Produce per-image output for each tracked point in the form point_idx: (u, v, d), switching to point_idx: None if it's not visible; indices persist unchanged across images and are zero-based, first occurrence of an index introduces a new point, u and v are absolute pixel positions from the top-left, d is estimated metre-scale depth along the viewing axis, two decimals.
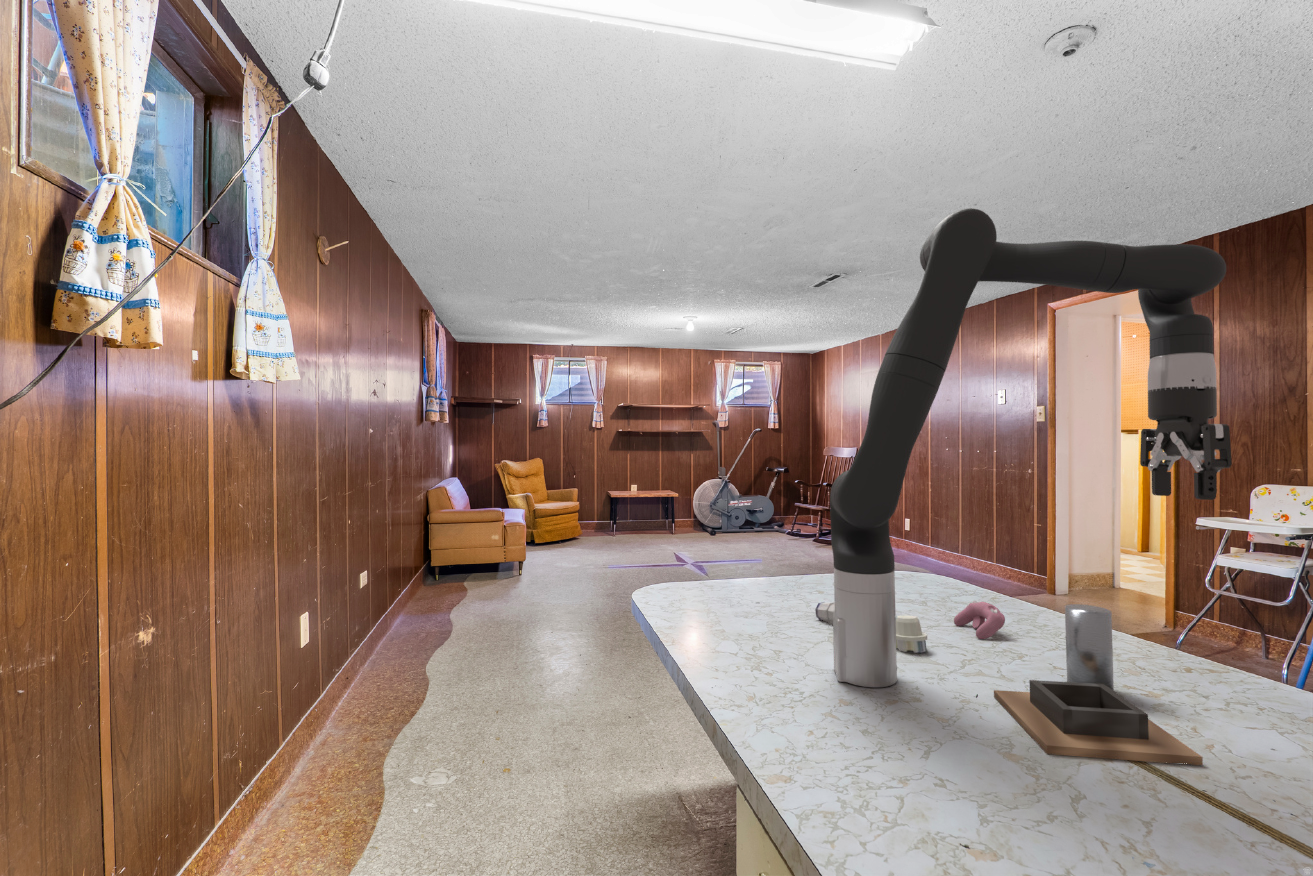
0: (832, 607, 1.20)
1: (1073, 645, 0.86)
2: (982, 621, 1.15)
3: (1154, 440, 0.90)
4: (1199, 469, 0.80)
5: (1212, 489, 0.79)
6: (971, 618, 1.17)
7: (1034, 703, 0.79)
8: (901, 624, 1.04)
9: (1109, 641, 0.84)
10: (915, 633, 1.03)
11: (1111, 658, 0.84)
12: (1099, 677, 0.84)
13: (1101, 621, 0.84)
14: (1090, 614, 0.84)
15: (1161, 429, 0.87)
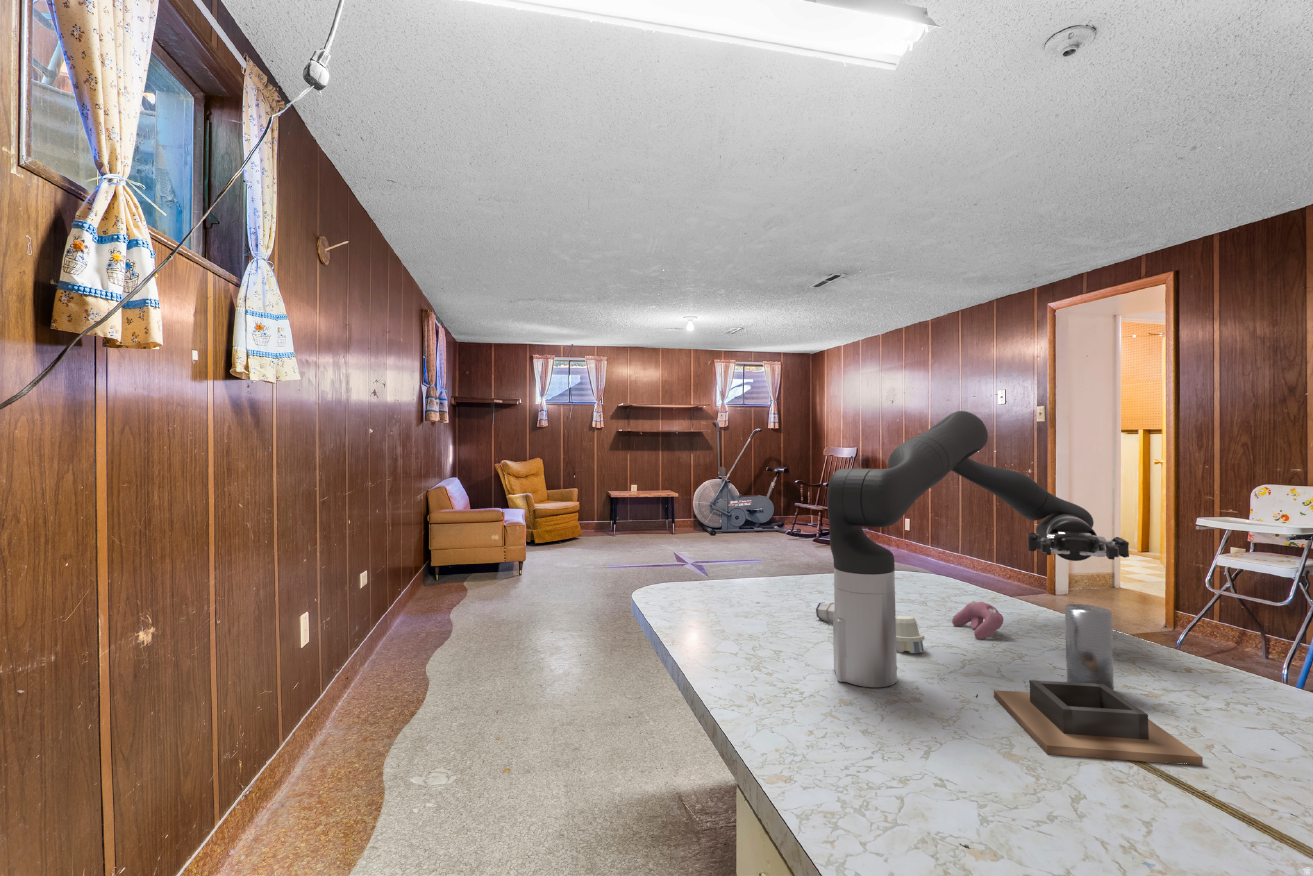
0: (832, 607, 1.20)
1: (1073, 645, 0.86)
2: (980, 621, 1.14)
3: None
4: (1113, 542, 0.97)
5: None
6: (969, 618, 1.17)
7: (1034, 703, 0.79)
8: (897, 624, 1.04)
9: (1109, 641, 0.84)
10: (912, 633, 1.02)
11: (1111, 658, 0.84)
12: (1099, 677, 0.84)
13: (1101, 621, 0.84)
14: (1090, 614, 0.84)
15: None
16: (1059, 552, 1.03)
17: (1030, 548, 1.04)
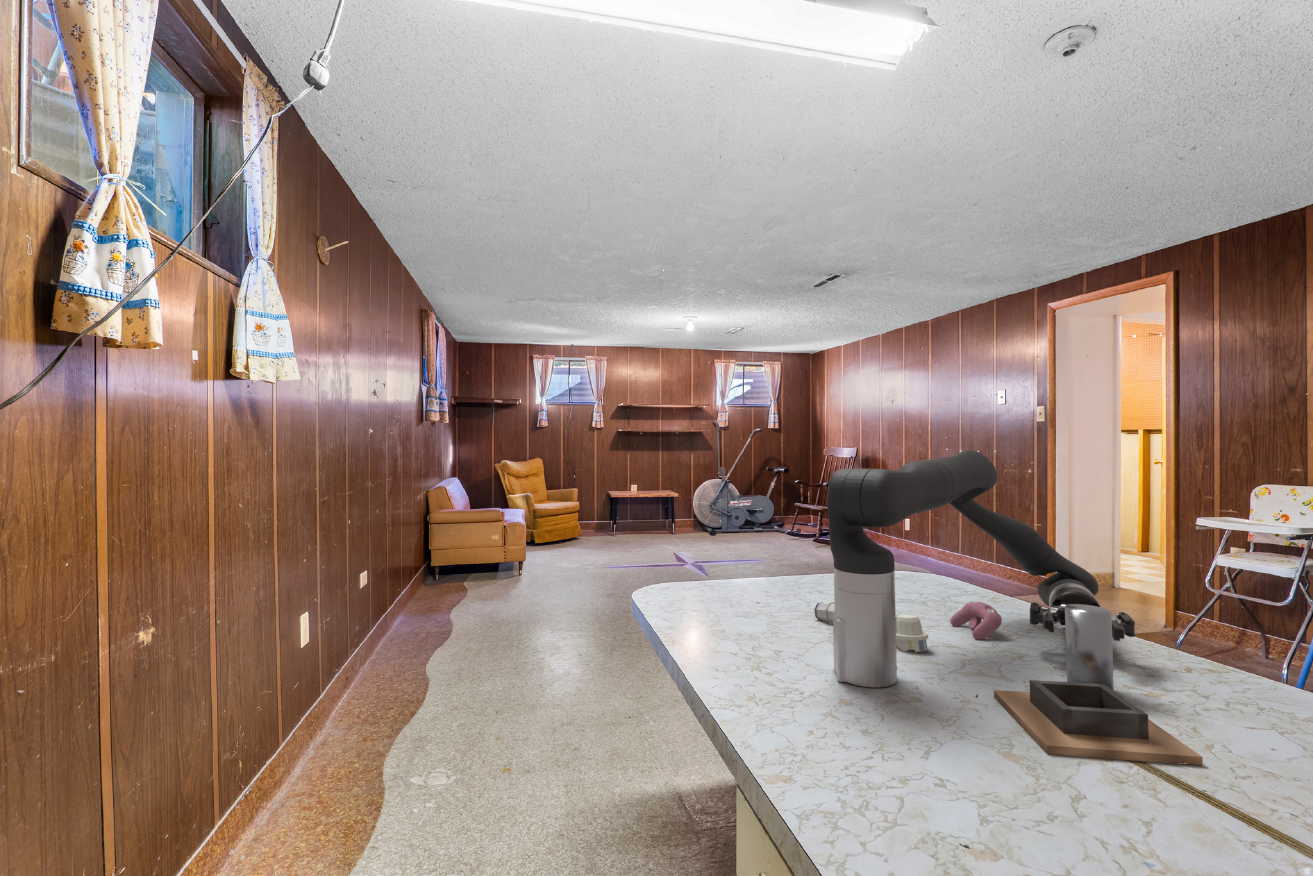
0: (831, 607, 1.20)
1: (1073, 645, 0.86)
2: (979, 621, 1.14)
3: (1043, 610, 1.02)
4: (1118, 620, 0.93)
5: None
6: (967, 618, 1.17)
7: (1034, 703, 0.79)
8: (902, 623, 1.04)
9: (1109, 641, 0.84)
10: (916, 632, 1.03)
11: (1111, 658, 0.84)
12: (1099, 677, 0.84)
13: (1101, 621, 0.84)
14: (1090, 614, 0.84)
15: None
16: (1062, 627, 0.99)
17: (1032, 621, 1.00)
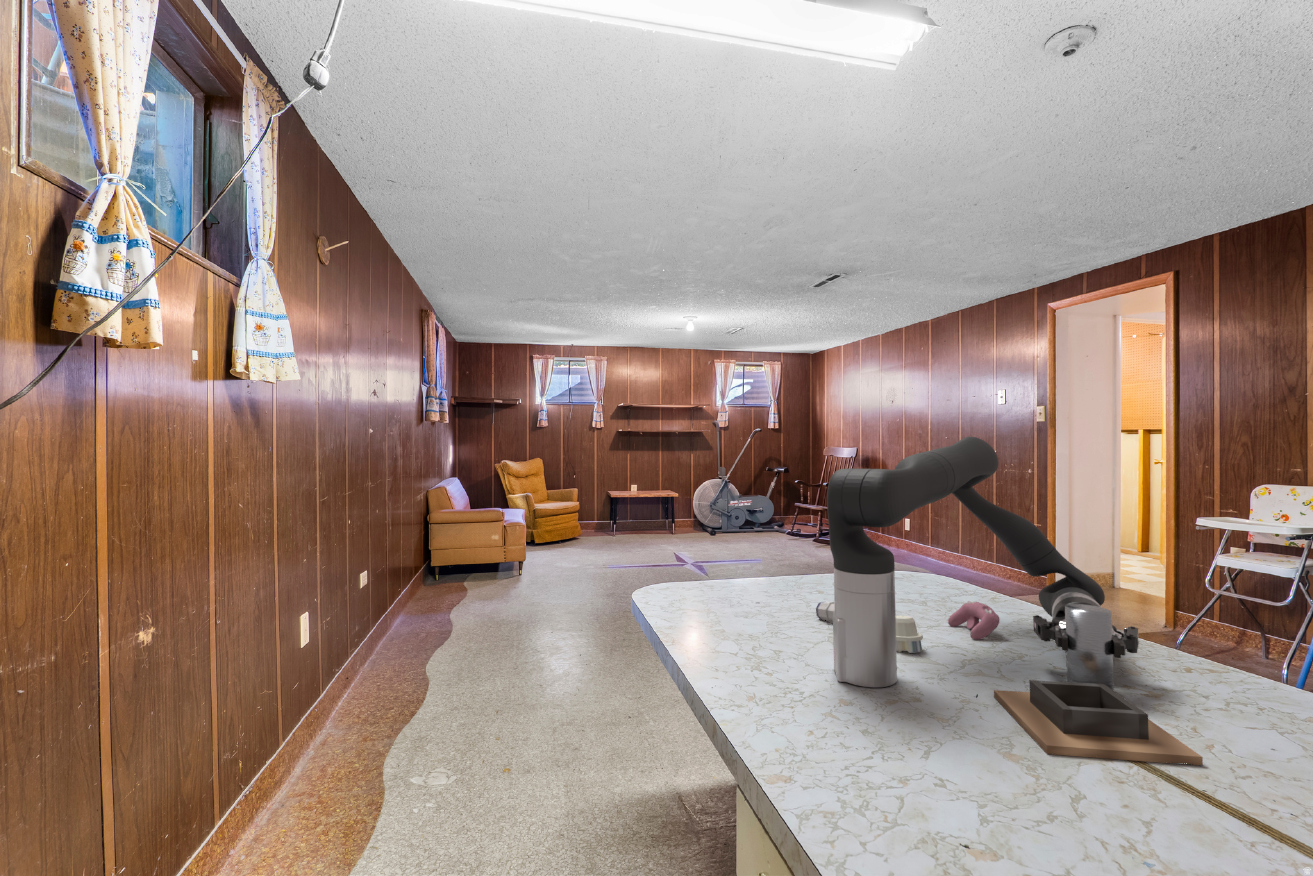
0: (832, 606, 1.20)
1: (1073, 645, 0.86)
2: (976, 621, 1.14)
3: (1048, 624, 0.94)
4: (1119, 635, 0.86)
5: None
6: (965, 618, 1.17)
7: (1034, 703, 0.79)
8: (896, 624, 1.04)
9: (1109, 641, 0.84)
10: (910, 633, 1.03)
11: (1111, 658, 0.84)
12: (1099, 677, 0.84)
13: (1101, 621, 0.84)
14: (1090, 614, 0.84)
15: (1063, 618, 0.95)
16: None
17: (1043, 637, 0.91)
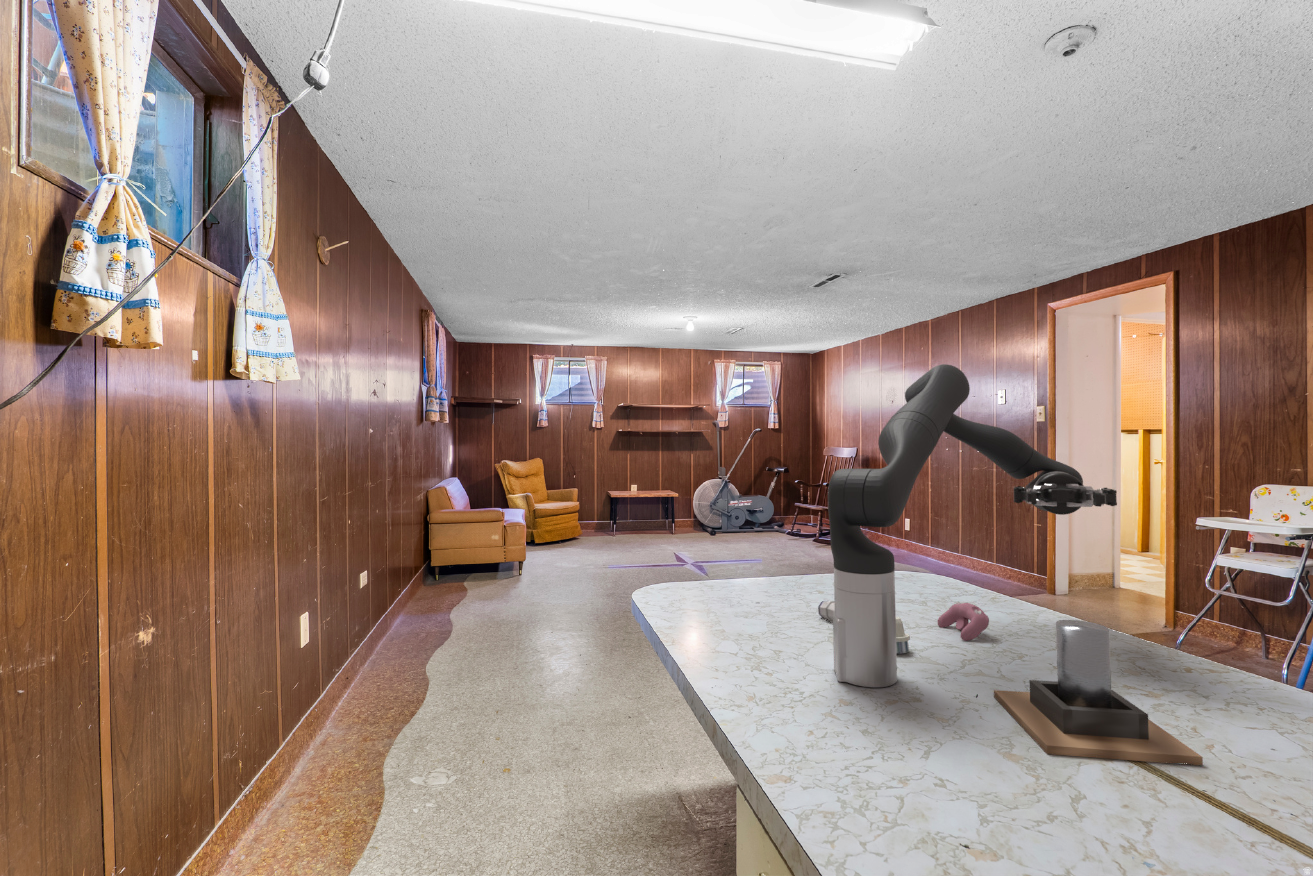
0: (831, 605, 1.21)
1: (1065, 667, 0.74)
2: (966, 622, 1.14)
3: None
4: (1100, 490, 0.94)
5: None
6: (954, 619, 1.16)
7: (1034, 703, 0.79)
8: None
9: (1107, 664, 0.72)
10: (896, 633, 1.02)
11: (1109, 683, 0.73)
12: (1094, 705, 0.72)
13: (1097, 640, 0.72)
14: (1085, 632, 0.73)
15: None
16: (1045, 504, 1.00)
17: (1015, 499, 1.01)
